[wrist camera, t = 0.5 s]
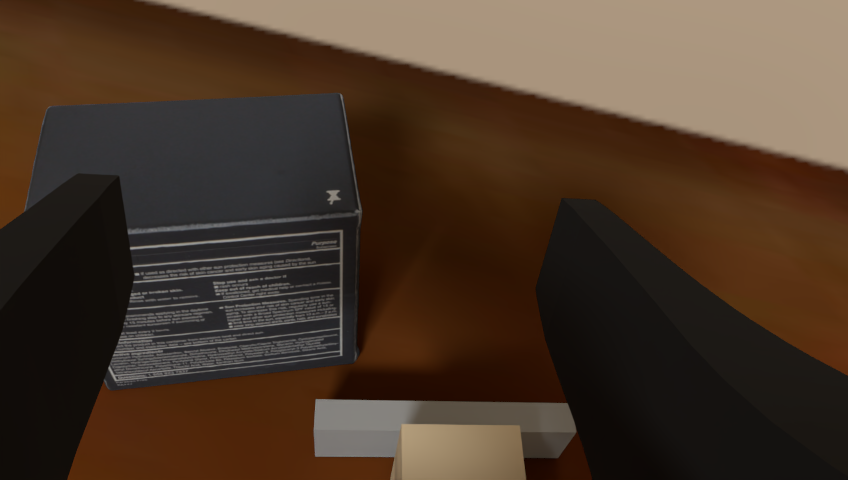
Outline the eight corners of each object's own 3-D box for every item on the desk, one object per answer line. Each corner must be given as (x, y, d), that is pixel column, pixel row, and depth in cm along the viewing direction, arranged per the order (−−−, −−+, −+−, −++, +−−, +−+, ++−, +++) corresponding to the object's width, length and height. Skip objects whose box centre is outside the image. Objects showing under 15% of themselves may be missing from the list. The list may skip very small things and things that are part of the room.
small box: (343, 247, 35) (347, 82, 26) (360, 366, 31) (371, 218, 23) (116, 266, 33) (42, 93, 24) (104, 395, 29) (12, 245, 21)
